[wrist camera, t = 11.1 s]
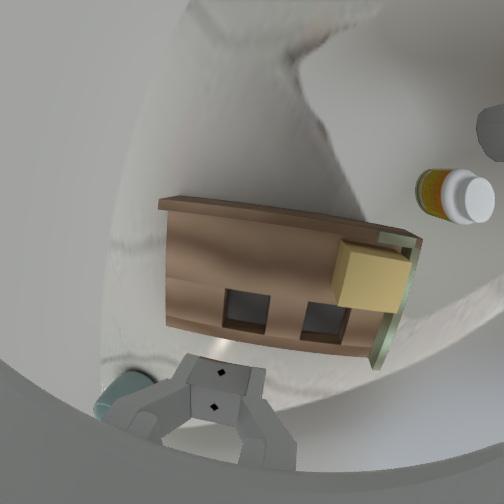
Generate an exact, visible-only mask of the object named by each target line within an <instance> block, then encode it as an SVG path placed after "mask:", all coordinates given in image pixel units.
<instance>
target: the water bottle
mask: <svg viewBox="0 0 504 504" xmlns="http://www.w3.org/2000/svg"><path fill="white" fill-rule="evenodd" d="M476 131H477V136H478V141H479V143H480V145H481V146H482V148H483V150H484V152H485V154H486V155H487V156H489V157H490V158H491V159H493V160H494V161H495V162H504V104H501V105H497V106H493V107H490V108H486V109H484V110H483V111H482V112H481V113H480V114H479V115H478V120H477V126H476Z"/></svg>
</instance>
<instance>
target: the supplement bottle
mask: <svg viewBox="0 0 504 504" xmlns="http://www.w3.org/2000/svg"><path fill="white" fill-rule="evenodd" d="M415 194H416V200H417V202H418V204H419V206H420V208H421V209H422V210H423V211H424V212H425V213H427V214H429V215H432V216H435V217H439V218H441V219H445V220H447V221H450V222H453V223H456V224H460V225H469V224H471V223H473V222H476V223H483V222H485V221H487V220H488V219H489V218H490V216H491V215H492V212H493V210H494V206H495V195H494V191H493V189H492V186H491V184H490V183H489V182H488V181H487V180H485V179H484V178H481V177H477V176H476V175H475V174H474V173H472V172H471V171H469V170H465V169H429V170H427V171H425V172H423V173H422V174H421V175H420V177H419V178H418V180H417V183H416V187H415Z"/></svg>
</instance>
